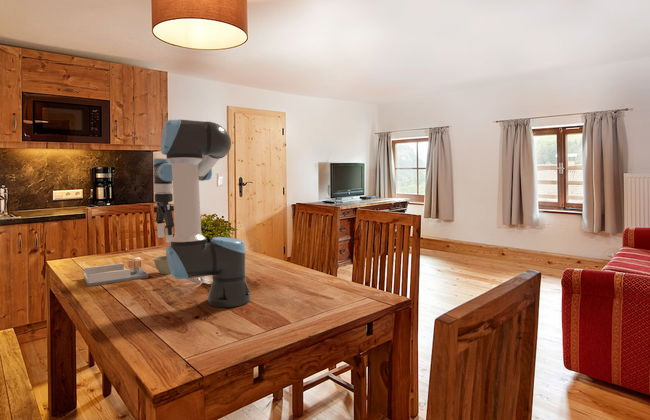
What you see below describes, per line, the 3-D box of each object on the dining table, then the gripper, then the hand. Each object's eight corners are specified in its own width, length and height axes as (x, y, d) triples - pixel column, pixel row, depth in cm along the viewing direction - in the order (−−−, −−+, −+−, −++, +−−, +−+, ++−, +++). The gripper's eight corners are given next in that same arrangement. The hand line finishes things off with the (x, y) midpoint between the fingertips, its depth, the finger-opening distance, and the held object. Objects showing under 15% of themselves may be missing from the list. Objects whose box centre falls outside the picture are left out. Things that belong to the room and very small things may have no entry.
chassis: (148, 277, 178) (147, 267, 178) (88, 286, 164) (87, 275, 164) (140, 270, 189) (140, 260, 189) (83, 278, 176) (83, 267, 175)
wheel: (145, 266, 181) (144, 258, 180) (130, 268, 177) (129, 260, 177) (141, 264, 186) (141, 255, 185) (127, 265, 182) (126, 257, 182)
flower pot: (172, 276, 181) (172, 260, 180) (150, 275, 181) (150, 260, 180) (181, 270, 190) (180, 255, 190) (160, 270, 191) (159, 255, 190)
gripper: (180, 194, 174) (182, 243, 176) (164, 190, 194) (165, 234, 196) (162, 195, 169) (164, 245, 172) (147, 191, 189) (149, 236, 192)
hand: (165, 239), depth 184 cm, fingers open, 13 cm apart
